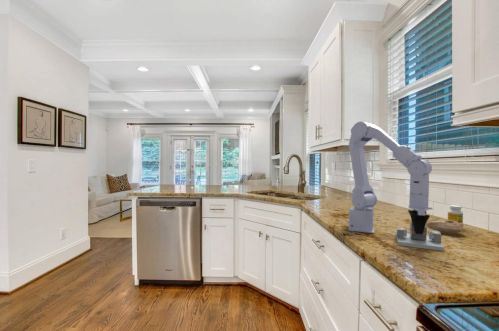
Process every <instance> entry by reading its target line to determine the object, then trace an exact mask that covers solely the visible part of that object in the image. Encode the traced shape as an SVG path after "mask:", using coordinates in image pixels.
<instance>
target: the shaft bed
mask: <svg viewBox="0 0 499 331" xmlns="http://www.w3.org/2000/svg"><path fill="white" fill-rule="evenodd" d="M395 238H396V242H397V245H398V246H403V247H410V248H419V249H425V250H426V249H427V250H432V251H441V252H444V251H445V246H444V245H443V244H442V232H441V231H437V230H429V231H428V235H427V236H426V240H418V239H411V237H410V232H409V233H408V230H407V228H405V227H399V226H396V231H395Z"/></svg>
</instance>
